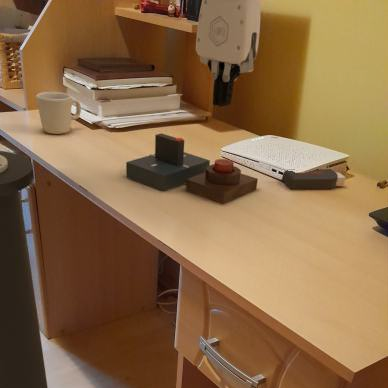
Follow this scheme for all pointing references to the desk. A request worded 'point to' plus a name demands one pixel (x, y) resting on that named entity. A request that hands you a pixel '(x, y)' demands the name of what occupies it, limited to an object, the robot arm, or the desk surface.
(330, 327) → the desk surface
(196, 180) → the button block
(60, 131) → the cup
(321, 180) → the usb drive
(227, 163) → the button
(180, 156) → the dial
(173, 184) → the panel
